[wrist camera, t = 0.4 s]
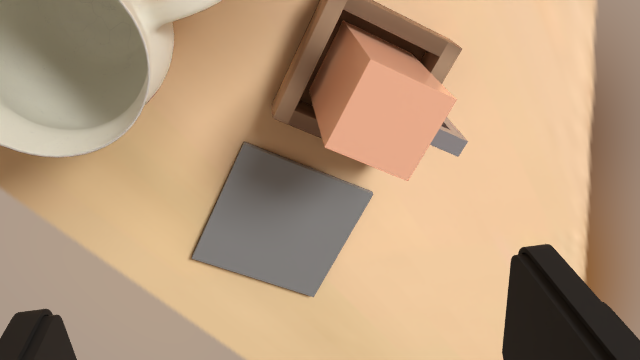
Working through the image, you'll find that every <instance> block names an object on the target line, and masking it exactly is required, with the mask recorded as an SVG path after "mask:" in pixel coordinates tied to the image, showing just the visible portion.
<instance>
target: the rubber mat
mask: <svg viewBox="0 0 640 360" xmlns="http://www.w3.org/2000/svg"><path fill="white" fill-rule="evenodd" d="M372 196H373V192H372V191H369V190H367V189H364V188H362V187H359V186H356V185H354V184H351V183H349V182H346V181H344V180H341V179H339V178H336V177H333V176H331V175H328V174H326V173H323V172H321V171H318V170H315V169H313V168H310V167H308V166H305V165H303V164H300V163H297V162H295V161H292V160H290V159H287V158H285V157H282V156H280V155H277V154H274V153H272V152H269V151H267V150H264V149H262V148H259V147H256V146H254V145H251V144H249V143H246V142H243V145H242V147H241V149H240V151H239V153H238V156H237V158H236V160H235V162H234V165H233V167H232V169H231V171H230V173H229V176H228V178H227V180H226V182H225V184H224V187H223V189H222V191H221V193H220V195H219V198H218V200H217V202H216V204H215V206H214V209H213V211H212V213H211V215H210V217H209V220H208V222H207V224H206V226H205V228H204V231H203V233H202V235H201V237H200V239H199V242H198V244H197V246H196V248H195V250H194V253H193V255H192V259H195V260H198V261H201V262H204V263H207V264H210V265H214V266H217V267H220V268H223V269H226V270H229V271H233V272H236V273H239V274H242V275H245V276H248V277H252V278H255V279H258V280H261V281H264V282H267V283H271V284H274V285H277V286H280V287H283V288H286V289H289V290H293V291H296V292H299V293H302V294H305V295H308V296H312V297H314V296H315V294H316V292H317V290H318V289H319V287H320V285H321V283H322V282H323V280H324V278H325V277H326V275H327V273H328V271H329V270H330V268H331V266H332V265H333V263H334V261H335V259H336V258H337V256H338V254H339V252H340V251H341V249H342V247H343V246H344V244H345V242H346V240H347V239H348V237H349V235H350V234H351V232H352V230H353V228H354V227H355V225H356V223H357V221H358V220H359V218H360V216H361V215H362V213H363V211H364V209H365V208H366V206H367V204H368V203H369V201H370V199H371V197H372Z"/></svg>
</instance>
